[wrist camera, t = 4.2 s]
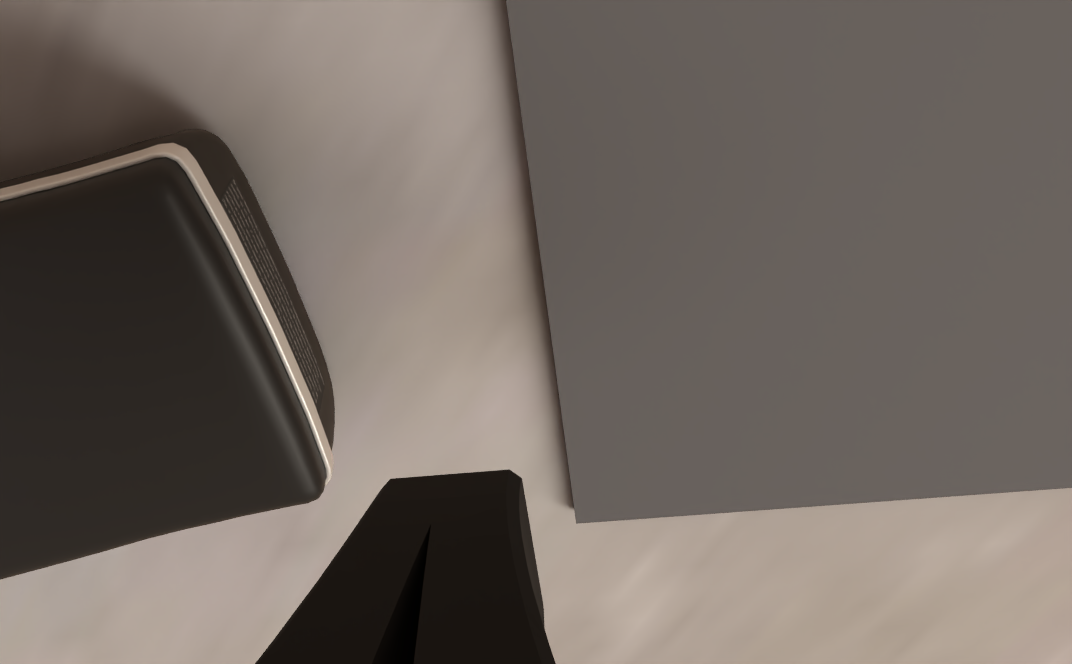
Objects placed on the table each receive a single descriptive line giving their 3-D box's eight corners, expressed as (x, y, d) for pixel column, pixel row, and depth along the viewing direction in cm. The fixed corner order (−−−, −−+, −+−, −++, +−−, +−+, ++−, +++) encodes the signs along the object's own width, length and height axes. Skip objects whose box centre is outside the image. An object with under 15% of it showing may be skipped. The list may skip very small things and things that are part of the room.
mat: (576, 510, 20) (576, 543, 19) (477, -231, 13) (471, -232, 12) (1151, 468, 19) (1179, 500, 18) (1373, -362, 12) (1434, -373, 11)
